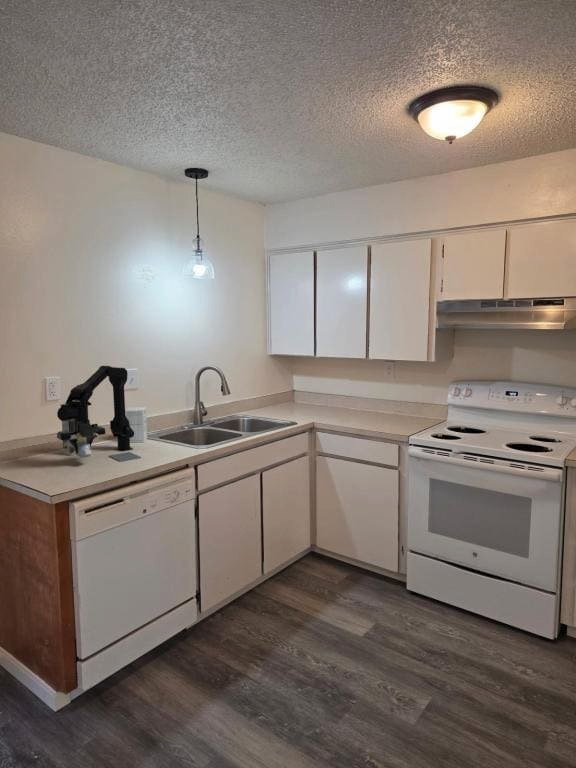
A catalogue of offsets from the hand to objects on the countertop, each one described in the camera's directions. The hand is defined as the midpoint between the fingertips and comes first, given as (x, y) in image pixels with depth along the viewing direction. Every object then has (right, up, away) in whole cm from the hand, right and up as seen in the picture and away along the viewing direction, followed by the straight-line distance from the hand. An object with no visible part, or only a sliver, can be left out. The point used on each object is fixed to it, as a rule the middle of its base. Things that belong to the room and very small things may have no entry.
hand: (82, 452), depth 217 cm
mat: (+15, -4, +11) cm, 19 cm away
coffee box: (-11, -3, +18) cm, 21 cm away
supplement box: (+10, 0, +44) cm, 45 cm away
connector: (+1, -1, -1) cm, 2 cm away
